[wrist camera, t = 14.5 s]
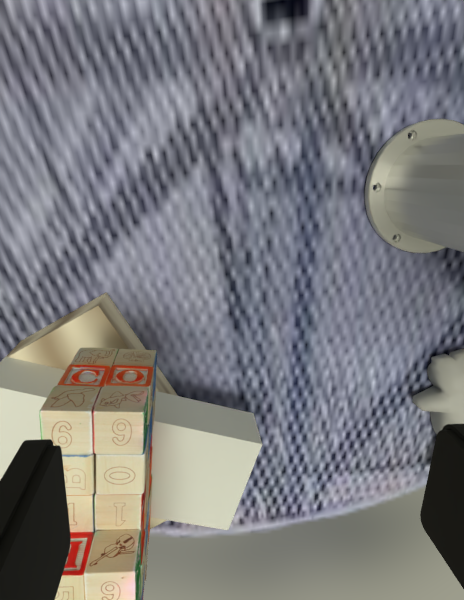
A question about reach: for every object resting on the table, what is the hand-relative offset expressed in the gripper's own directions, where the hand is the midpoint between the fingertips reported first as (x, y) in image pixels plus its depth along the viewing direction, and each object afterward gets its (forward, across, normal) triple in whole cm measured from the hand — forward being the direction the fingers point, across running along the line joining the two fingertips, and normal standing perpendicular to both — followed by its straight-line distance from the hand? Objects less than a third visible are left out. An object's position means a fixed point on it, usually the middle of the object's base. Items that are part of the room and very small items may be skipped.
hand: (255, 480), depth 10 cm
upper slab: (+28, +8, +18) cm, 34 cm away
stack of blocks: (+23, +8, +17) cm, 30 cm away
